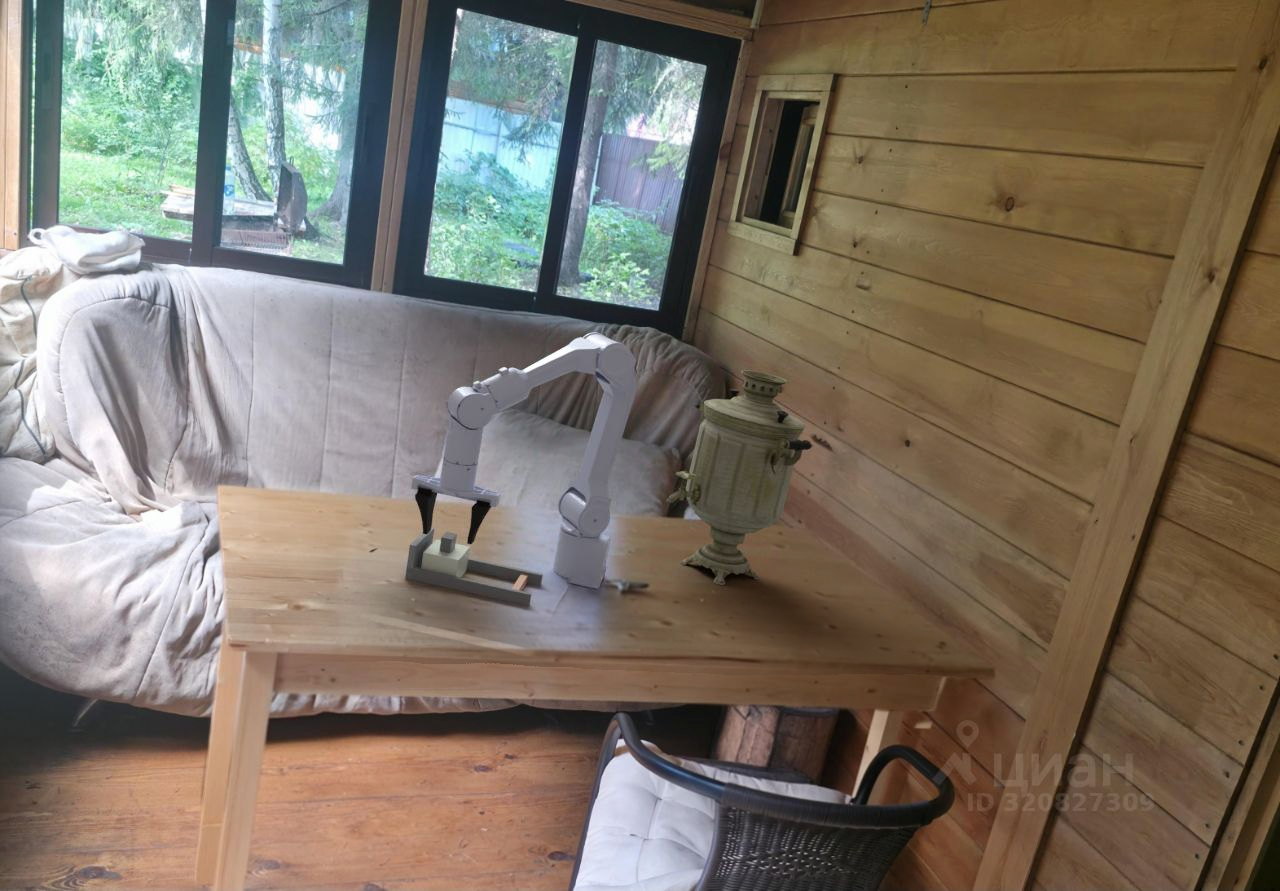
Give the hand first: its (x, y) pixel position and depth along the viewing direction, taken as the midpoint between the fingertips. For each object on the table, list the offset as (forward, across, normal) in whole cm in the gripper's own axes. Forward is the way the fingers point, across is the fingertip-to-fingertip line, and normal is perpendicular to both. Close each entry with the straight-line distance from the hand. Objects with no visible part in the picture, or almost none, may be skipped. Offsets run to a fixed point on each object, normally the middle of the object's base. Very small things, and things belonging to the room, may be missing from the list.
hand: (448, 537), depth 169 cm
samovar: (+8, +44, +33) cm, 56 cm away
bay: (+8, +6, 0) cm, 9 cm away
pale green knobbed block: (+7, 0, 0) cm, 7 cm away
